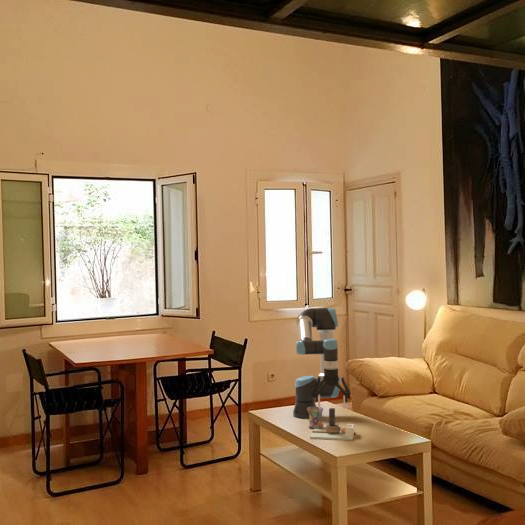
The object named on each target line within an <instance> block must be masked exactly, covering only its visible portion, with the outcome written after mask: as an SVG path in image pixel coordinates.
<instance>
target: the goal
mask: <svg viewBox="0 0 525 525" xmlns="http://www.w3.org/2000/svg"><path fill="white" fill-rule="evenodd" d="M344 427H345V435H349V436H353V434H354V435H355V433H354V430H355V423H346V426H344ZM353 437H354V436H353Z"/></svg>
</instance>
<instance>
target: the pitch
mask: <svg viewBox="0 0 525 525" xmlns="http://www.w3.org/2000/svg"><path fill="white" fill-rule="evenodd" d="M355 431H356V430H355V429H354V434H353V436H349V435H345V433H342V432H341V431H340V432H338V433H335V432H326V428H313V430H312V433H311V434H310V437H309V439H313V440H333V441H337V440H338V441H353V440H354V436H355V433H356V432H355Z"/></svg>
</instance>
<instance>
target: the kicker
mask: <svg viewBox="0 0 525 525" xmlns="http://www.w3.org/2000/svg"><path fill="white" fill-rule="evenodd" d="M328 413H329V414H328V418H329V421H328V422H329V423H327V424H326V426H325V429H326V432H335V433H338V432H340V431H341V428H342V427H341V426H340V425H339V424H336V408H333V407H329V409H328Z"/></svg>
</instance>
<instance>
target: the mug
mask: <svg viewBox="0 0 525 525" xmlns="http://www.w3.org/2000/svg"><path fill="white" fill-rule="evenodd" d="M307 410H308V413H309V418H308V419H309V420H308V424H307V427H309V428H310V429H322V428H323V427H324V424H323V422H322V415H323V411H324V407H323V406H320V408H318V406H316V407H308V408H307Z"/></svg>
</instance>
